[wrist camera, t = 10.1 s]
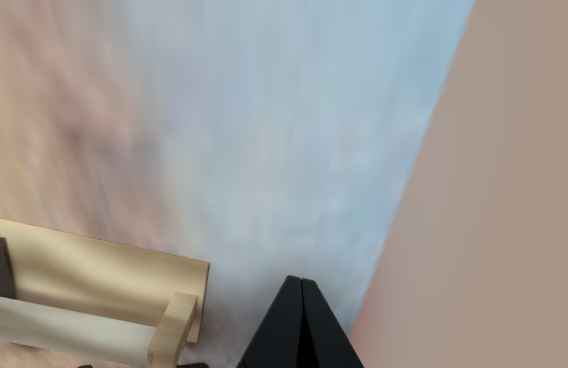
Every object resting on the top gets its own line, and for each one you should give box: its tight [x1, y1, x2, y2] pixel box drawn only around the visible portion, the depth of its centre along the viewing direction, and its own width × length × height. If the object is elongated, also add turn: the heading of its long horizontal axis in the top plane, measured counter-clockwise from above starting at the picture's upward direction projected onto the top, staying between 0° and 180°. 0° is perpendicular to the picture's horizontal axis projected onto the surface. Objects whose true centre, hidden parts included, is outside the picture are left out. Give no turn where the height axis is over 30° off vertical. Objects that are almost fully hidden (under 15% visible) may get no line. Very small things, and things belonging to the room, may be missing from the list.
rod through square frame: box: [0, 219, 209, 368], centre depth 25 cm, size 10×26×6 cm, turn 77°
